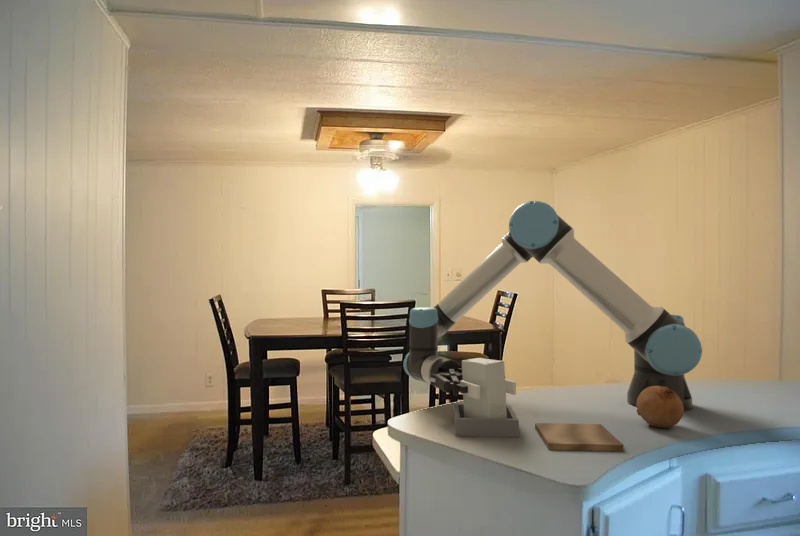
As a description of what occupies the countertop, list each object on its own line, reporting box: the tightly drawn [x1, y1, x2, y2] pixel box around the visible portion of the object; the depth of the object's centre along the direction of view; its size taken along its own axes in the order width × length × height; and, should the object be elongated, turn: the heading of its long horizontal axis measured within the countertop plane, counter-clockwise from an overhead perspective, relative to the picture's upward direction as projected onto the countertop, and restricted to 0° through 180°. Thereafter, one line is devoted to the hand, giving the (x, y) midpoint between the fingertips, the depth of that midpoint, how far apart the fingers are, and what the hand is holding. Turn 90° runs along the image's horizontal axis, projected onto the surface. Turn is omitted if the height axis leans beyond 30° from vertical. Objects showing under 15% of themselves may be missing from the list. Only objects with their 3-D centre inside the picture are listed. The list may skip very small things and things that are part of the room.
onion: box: [636, 386, 685, 429], centre depth 118 cm, size 10×9×10 cm
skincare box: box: [461, 357, 507, 419], centre depth 116 cm, size 8×6×15 cm
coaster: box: [534, 422, 625, 452], centre depth 108 cm, size 14×14×1 cm
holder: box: [452, 403, 520, 438], centre depth 116 cm, size 13×13×4 cm
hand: (496, 390), depth 112 cm, fingers open, 9 cm apart
